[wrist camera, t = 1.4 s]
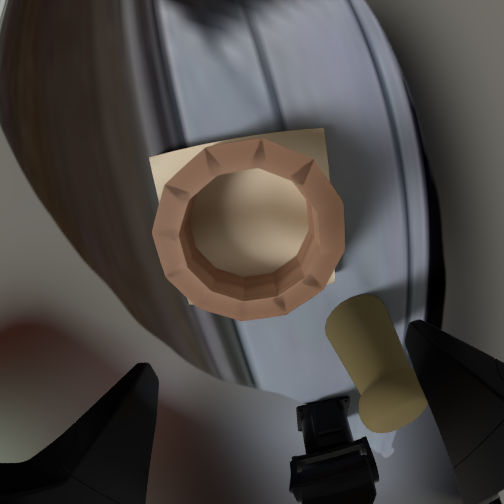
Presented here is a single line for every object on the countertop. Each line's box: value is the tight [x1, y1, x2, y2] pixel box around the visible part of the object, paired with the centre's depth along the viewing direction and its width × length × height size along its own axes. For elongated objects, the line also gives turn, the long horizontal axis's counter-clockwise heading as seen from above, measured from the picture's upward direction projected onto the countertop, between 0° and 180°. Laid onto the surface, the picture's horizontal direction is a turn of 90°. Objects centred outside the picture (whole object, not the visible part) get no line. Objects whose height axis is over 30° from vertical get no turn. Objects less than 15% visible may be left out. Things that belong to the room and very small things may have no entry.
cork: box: [325, 295, 428, 433], centre depth 18 cm, size 6×6×11 cm
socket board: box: [149, 128, 345, 321], centre depth 17 cm, size 11×11×4 cm
